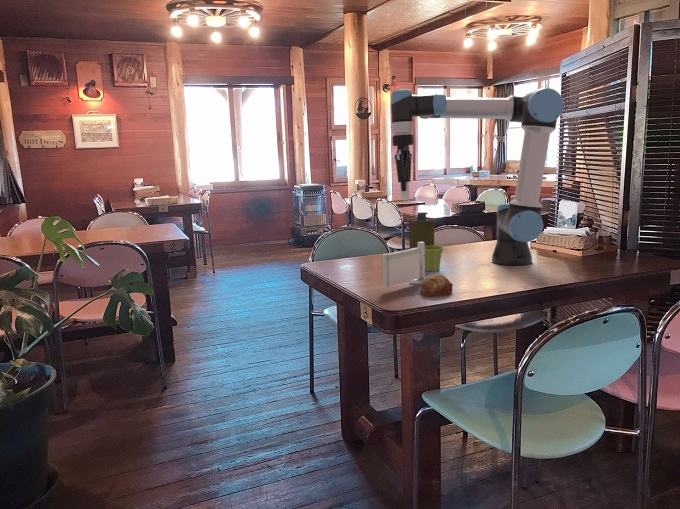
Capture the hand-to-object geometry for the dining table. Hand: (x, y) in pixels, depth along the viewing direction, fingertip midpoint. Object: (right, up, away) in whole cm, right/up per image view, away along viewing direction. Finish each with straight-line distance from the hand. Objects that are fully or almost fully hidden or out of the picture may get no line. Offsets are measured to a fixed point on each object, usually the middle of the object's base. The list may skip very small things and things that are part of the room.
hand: (405, 199), depth 205 cm
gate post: (+4, -30, -13) cm, 33 cm away
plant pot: (+11, -26, +7) cm, 29 cm away
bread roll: (+7, -33, -28) cm, 43 cm away
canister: (+10, -23, +24) cm, 35 cm away
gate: (-3, -29, -20) cm, 36 cm away
